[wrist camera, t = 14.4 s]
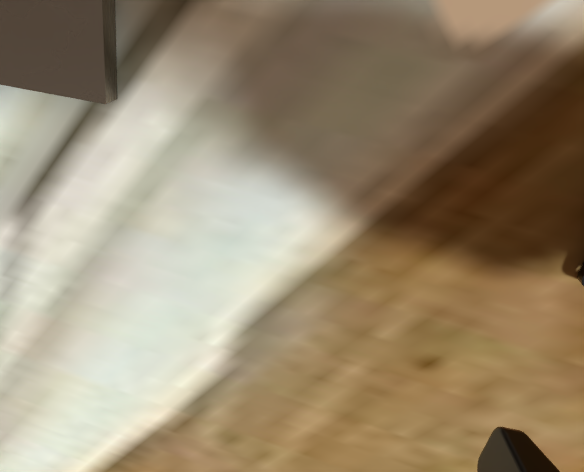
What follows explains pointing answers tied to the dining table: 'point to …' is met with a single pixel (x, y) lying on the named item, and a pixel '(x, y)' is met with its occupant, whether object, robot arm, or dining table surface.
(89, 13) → the lens mount
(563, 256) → the dining table surface
